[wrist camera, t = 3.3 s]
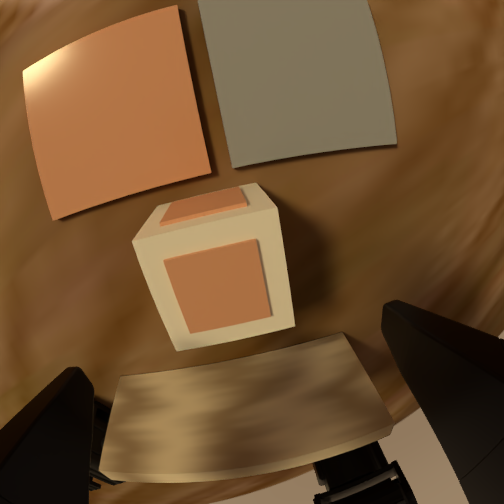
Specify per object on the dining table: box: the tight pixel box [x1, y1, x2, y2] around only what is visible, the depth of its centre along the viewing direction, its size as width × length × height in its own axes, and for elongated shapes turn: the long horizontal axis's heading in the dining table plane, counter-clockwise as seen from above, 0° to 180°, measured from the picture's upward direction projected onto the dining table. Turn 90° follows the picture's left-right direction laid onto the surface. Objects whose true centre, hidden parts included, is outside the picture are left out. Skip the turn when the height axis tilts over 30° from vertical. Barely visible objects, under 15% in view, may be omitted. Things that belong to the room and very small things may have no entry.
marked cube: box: [132, 183, 295, 351], centre depth 12 cm, size 5×5×5 cm
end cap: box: [89, 401, 126, 491], centre depth 17 cm, size 10×7×7 cm
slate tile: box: [198, 0, 397, 168], centre depth 11 cm, size 9×9×1 cm
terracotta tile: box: [23, 5, 211, 221], centre depth 11 cm, size 9×9×1 cm
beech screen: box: [99, 332, 395, 483], centre depth 15 cm, size 16×4×8 cm, turn 101°
